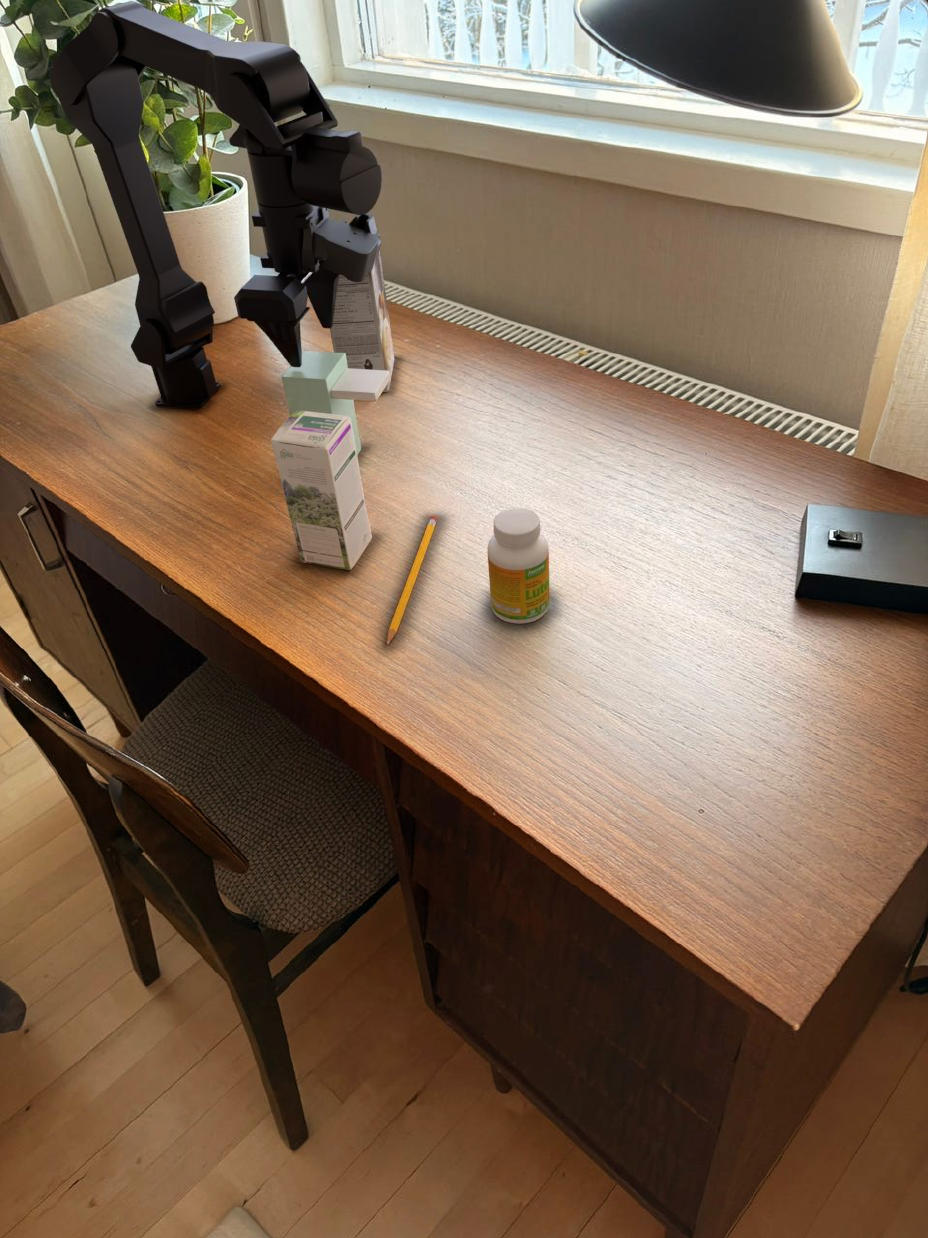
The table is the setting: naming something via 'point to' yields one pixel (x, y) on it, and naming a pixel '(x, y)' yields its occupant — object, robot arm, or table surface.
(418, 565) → the pencil
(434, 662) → the table surface
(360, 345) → the coffee box
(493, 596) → the supplement bottle
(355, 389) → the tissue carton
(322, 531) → the syrup box
